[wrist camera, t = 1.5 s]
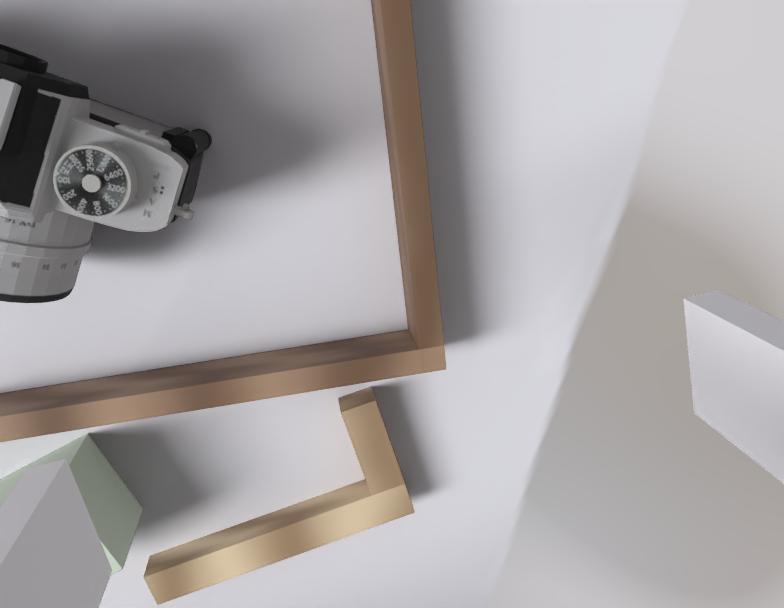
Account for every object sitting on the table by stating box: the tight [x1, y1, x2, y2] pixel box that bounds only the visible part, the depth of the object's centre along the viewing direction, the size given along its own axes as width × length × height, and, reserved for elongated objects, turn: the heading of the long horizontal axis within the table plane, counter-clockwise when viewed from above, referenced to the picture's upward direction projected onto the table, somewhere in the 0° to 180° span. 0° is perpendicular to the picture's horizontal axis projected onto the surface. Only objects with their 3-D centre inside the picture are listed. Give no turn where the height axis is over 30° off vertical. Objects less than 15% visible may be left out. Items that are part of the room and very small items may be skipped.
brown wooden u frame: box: [0, 0, 446, 442], centre depth 31 cm, size 23×22×3 cm
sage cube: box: [0, 434, 143, 576], centre depth 34 cm, size 5×5×5 cm
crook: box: [144, 387, 414, 605], centre depth 36 cm, size 14×7×2 cm, turn 107°
